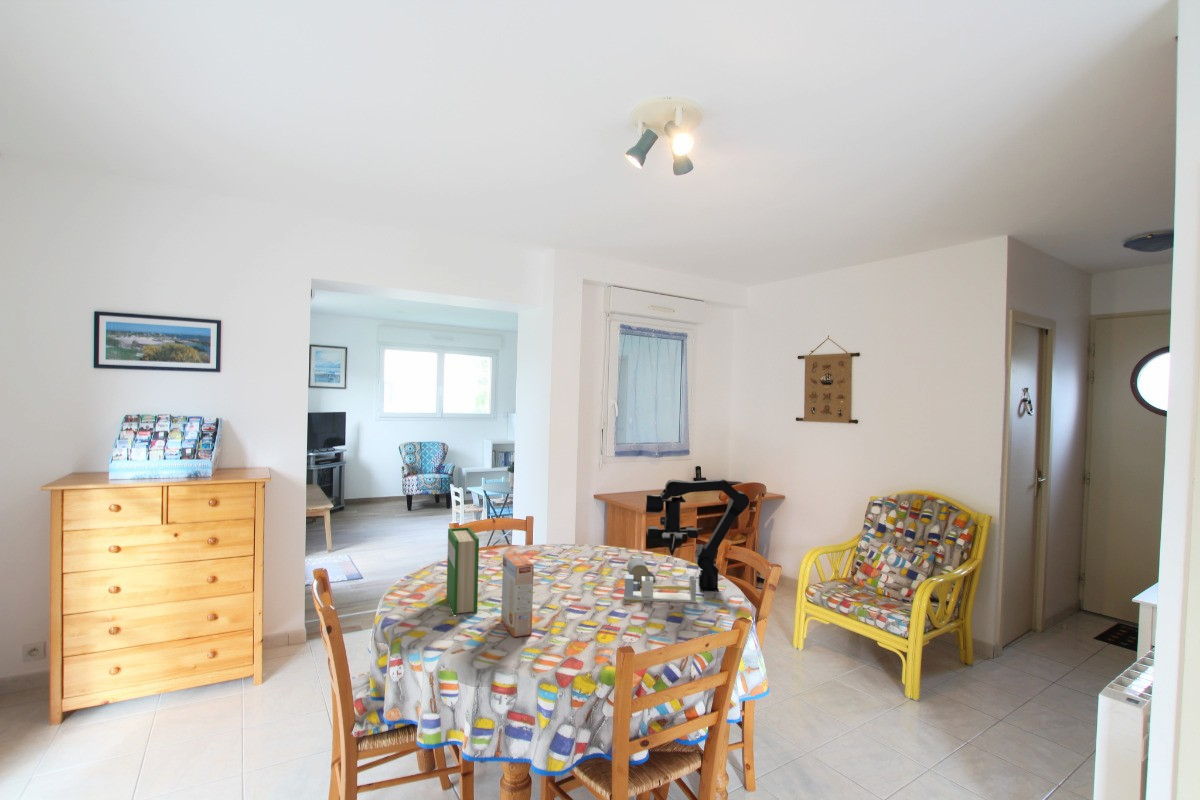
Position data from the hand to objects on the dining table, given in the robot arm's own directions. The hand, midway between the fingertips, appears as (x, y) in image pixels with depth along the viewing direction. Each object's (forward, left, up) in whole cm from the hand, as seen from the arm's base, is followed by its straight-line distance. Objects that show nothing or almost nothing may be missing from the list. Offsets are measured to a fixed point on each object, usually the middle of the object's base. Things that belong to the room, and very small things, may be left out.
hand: (671, 554), depth 204 cm
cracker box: (+50, +43, -12) cm, 67 cm away
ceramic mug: (+11, -7, -12) cm, 18 cm away
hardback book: (+72, +27, -12) cm, 78 cm away
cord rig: (+5, +12, -12) cm, 18 cm away
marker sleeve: (+9, +12, -11) cm, 19 cm away
